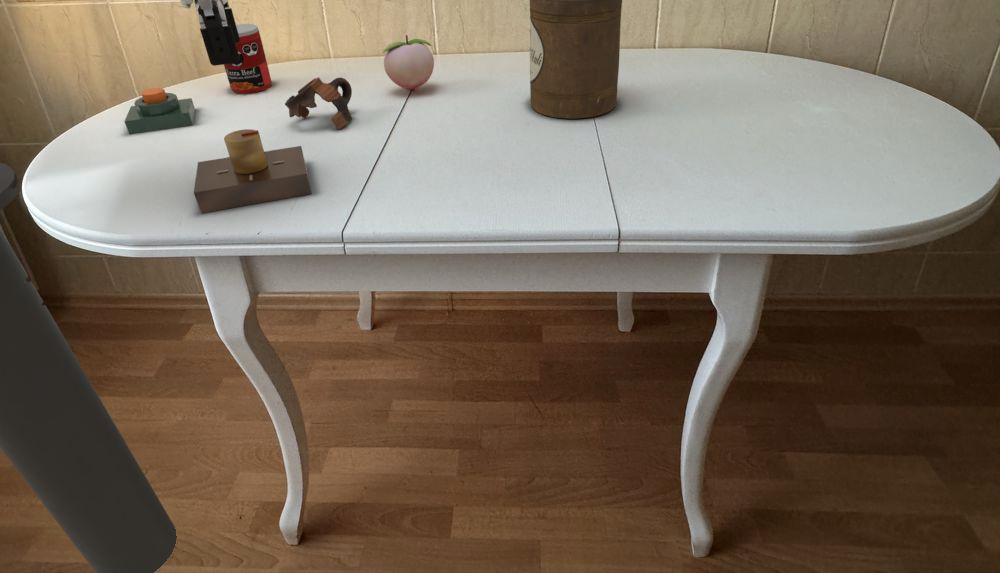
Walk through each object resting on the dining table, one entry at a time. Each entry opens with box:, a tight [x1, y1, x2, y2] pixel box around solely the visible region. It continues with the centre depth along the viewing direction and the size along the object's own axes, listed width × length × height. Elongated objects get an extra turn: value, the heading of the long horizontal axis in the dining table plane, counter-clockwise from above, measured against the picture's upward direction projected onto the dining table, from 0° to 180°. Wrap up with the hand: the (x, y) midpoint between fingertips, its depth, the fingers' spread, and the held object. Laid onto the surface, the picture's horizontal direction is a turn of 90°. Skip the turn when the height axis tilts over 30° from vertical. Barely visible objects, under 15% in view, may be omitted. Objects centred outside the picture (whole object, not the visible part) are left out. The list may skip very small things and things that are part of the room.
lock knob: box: [223, 128, 268, 174], centre depth 82 cm, size 4×4×5 cm
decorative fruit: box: [382, 34, 435, 92], centre depth 114 cm, size 9×8×10 cm
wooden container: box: [529, 0, 623, 120], centre depth 101 cm, size 15×15×22 cm
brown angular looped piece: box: [284, 77, 353, 131], centre depth 104 cm, size 12×10×8 cm
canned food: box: [223, 23, 272, 95], centre depth 119 cm, size 8×8×11 cm
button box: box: [124, 92, 196, 135], centre depth 107 cm, size 10×8×4 cm
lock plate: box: [193, 145, 312, 214], centre depth 85 cm, size 14×10×3 cm
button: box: [140, 87, 167, 103], centre depth 106 cm, size 4×4×2 cm
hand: (226, 53), depth 75 cm, fingers open, 9 cm apart
